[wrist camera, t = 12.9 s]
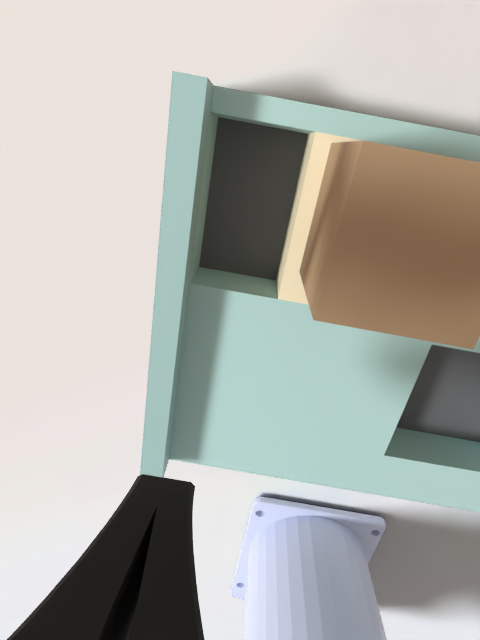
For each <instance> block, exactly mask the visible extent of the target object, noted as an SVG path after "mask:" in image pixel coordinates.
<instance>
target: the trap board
mask: <svg viewBox="0 0 480 640" xmlns="http://www.w3.org/2000/svg"><path fill="white" fill-rule="evenodd" d="M353 141H367V142H372V143H377V144H383V145H388V146H393V147H398V148H403V149H409V150H414V151H419V152H424V153H429V154H435V155H440V156H445V157H450V158H455V159H461V160H466V161H471V162H476V163H480V136H478V135H473V134H468V133H462V132H457V131H452V130H447V129H441V128H436V127H431V126H425V125H420V124H415V123H409V122H404V121H399V120H394V119H388V118H383V117H378V116H372V115H367V114H362V113H356V112H351V111H346V110H341V109H335V108H330V107H325V106H319V105H314V104H309V103H303V102H298V101H293V100H288V99H282V98H277V97H272V96H266V95H261V94H256V93H250V92H245V91H240V90H234V89H229V88H224V87H219V86H214V85H213V84H212V83H211V81H210V80H209V79H208V78H206V77H201V76H195V75H190V74H185V73H180V72H174V71H173V73H172V85H171V98H170V110H169V123H168V135H167V148H166V160H165V173H164V185H163V197H162V210H161V222H160V235H159V247H158V260H157V272H156V284H155V297H154V309H153V322H152V334H151V347H150V359H149V371H148V384H147V396H146V409H145V421H144V434H143V446H142V458H141V471H140V475H142V474H145V475H151V476H157V477H164V473H165V470H166V467H167V464H168V460H169V459H171V460H177V461H183V462H189V463H195V464H201V465H206V466H212V467H218V468H224V469H230V470H236V471H241V472H247V473H253V474H259V475H265V476H271V477H277V478H282V479H288V480H294V481H300V482H306V483H312V484H317V485H323V486H329V487H335V488H341V489H347V490H352V491H358V492H364V493H370V494H376V495H382V496H388V497H393V498H399V499H405V500H411V501H417V502H423V503H428V504H434V505H440V506H446V507H452V508H458V509H463V510H469V511H475V512H480V337H479V339H478V341H477V343H476V345H475V347H474V349H468V348H463V347H457V346H452V345H446V344H441V343H435V342H430V341H424V340H419V339H414V338H408V337H403V336H397V335H392V334H386V333H381V332H375V331H370V330H364V329H359V328H353V327H348V326H342V325H337V324H332V323H326V322H321V321H315V320H313V318H312V314H311V311H310V307H309V304H308V300H307V297H306V293H305V290H304V286H303V283H302V279H301V276H300V272H299V271H300V267H301V263H302V259H303V255H304V251H305V247H306V243H307V239H308V235H309V230H310V226H311V222H312V218H313V214H314V210H315V206H316V202H317V198H318V194H319V190H320V186H321V182H322V178H323V174H324V170H325V166H326V162H327V158H328V154H329V150H330V146H331V143H338V142H353Z"/></svg>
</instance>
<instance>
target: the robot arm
mask: <svg viewBox="0 0 480 640" xmlns="http://www.w3.org/2000/svg"><path fill="white" fill-rule="evenodd" d="M194 490H195V486H194V485H193V484H192V483H191V482H186V481H180V480H174V479H169V478H163V477H157V476H151V475H145V474H142V475H140V476H138V477H137V479H136V480H135V482H134V484H133V486H132V487H131V489H130V490H129V492H128V493H127V495H126V497H125V498H124V500H123V501H122V503H121V504H120V505H119V507H118V508H117V510H116V511H115V512H114V514H113V515H112V517H111V518H110V519H109V521H108V522H107V524H106V525H105V526H104V528H103V529H102V530H101V531H100V533H99V534H98V535H97V537H96V538H95V539H94V540H93V542H92V543H91V544H90V546H89V547H88V548H87V549H86V551H85V552H84V553H83V554H82V556H81V557H80V558H79V559H78V561H77V562H76V563H75V564H74V565H73V567H72V568H71V569H70V570H69V571H68V572H67V574H66V575H65V576H64V577H63V578H62V579H61V581H60V582H59V583H58V584H57V585H56V586H55V588H54V589H53V590H52V591H51V592H50V593H49V595H48V596H47V597H46V598H45V599H44V600H43V601H42V603H41V604H40V605H39V606H38V607H37V608H36V609H35V610H34V611H33V612H32V614H31V615H30V616H29V617H28V618H27V619H26V620H25V621H24V622H23V623H22V624H21V625H20V626H19V628H18V629H17V630H16V631H15V632H14V633H13V634H12V635H11V636H10V637H9V638H8V639H7V640H204V635H203V629H202V622H201V615H200V609H199V602H198V594H197V585H196V575H195V564H194V553H193V534H192V509H193V496H194ZM385 529H386V523H385V520H384V519H383V518H382V517H379V516H373V515H367V514H361V513H355V512H350V511H344V510H338V509H332V508H326V507H320V506H314V505H308V504H302V503H297V502H291V501H285V500H279V499H273V498H267V497H257V498H256V499H254V501H253V505H252V509H251V513H250V517H249V520H248V524H247V528H246V532H245V536H244V540H243V544H242V547H241V551H240V555H239V559H238V563H237V567H236V570H235V574H234V578H233V582H232V586H231V595H232V596H233V597H235V598H239V599H245V610H244V633H243V640H387V639H386V635H385V631H384V627H383V623H382V619H381V615H380V611H379V607H378V603H377V599H376V595H375V591H374V587H373V583H372V579H371V575H370V571H369V567H368V564H369V562H370V560H371V558H372V556H373V554H374V552H375V550H376V548H377V546H378V544H379V542H380V539H381V537H382V535H383V533H384V531H385Z"/></svg>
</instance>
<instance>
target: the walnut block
mask: <svg viewBox="0 0 480 640" xmlns="http://www.w3.org/2000/svg"><path fill="white" fill-rule="evenodd" d="M299 272H300V276H301V279H302V283H303V286H304V290H305V293H306V297H307V300H308V304H309V307H310V311H311V314H312V318H313V320H315V321H321V322H326V323H332V324H337V325H342V326H348V327H353V328H359V329H364V330H370V331H375V332H381V333H386V334H392V335H397V336H403V337H408V338H414V339H419V340H424V341H430V342H435V343H441V344H446V345H452V346H457V347H463V348H468V349H474V347H475V345H476V343H477V341H478V339H479V337H480V163H476V162H471V161H466V160H461V159H455V158H450V157H445V156H440V155H435V154H429V153H424V152H419V151H414V150H409V149H403V148H398V147H393V146H388V145H383V144H377V143H372V142H367V141H353V142H338V143H331V146H330V150H329V154H328V158H327V162H326V166H325V170H324V174H323V178H322V182H321V186H320V190H319V194H318V198H317V202H316V206H315V210H314V214H313V218H312V222H311V226H310V230H309V235H308V239H307V243H306V247H305V251H304V255H303V259H302V263H301V267H300V271H299Z"/></svg>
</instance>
